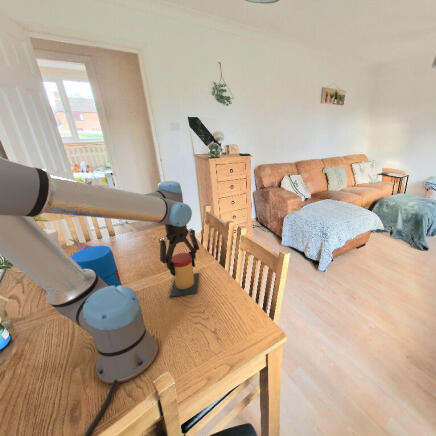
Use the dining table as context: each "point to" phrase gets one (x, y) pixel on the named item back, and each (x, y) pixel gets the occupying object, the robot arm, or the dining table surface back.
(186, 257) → the jam lid
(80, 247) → the lily
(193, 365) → the dining table surface
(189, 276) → the jam jar
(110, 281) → the thermos
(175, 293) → the mat
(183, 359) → the dining table surface
